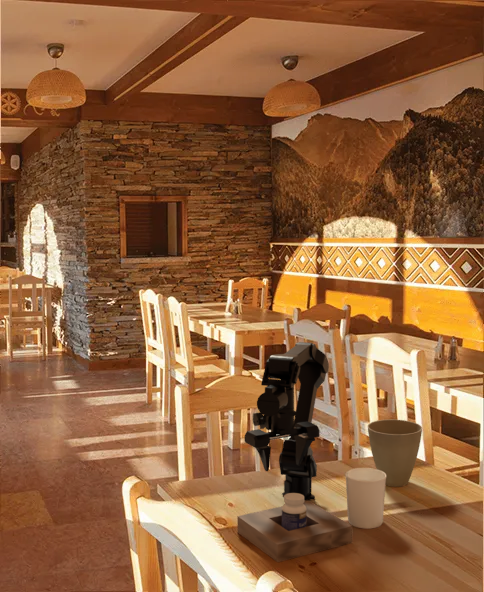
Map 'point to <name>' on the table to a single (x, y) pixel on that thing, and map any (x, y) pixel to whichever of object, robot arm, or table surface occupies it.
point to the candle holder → (365, 497)
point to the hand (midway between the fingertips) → (282, 467)
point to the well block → (294, 532)
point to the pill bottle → (293, 512)
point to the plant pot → (395, 448)
